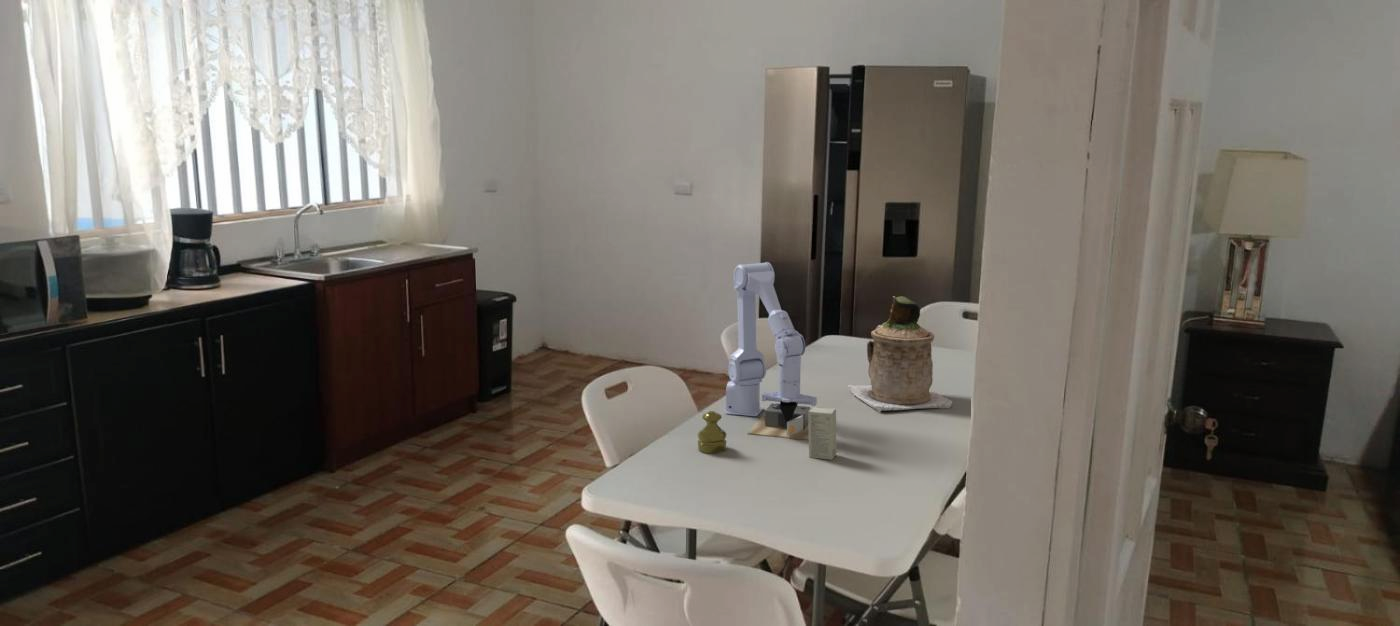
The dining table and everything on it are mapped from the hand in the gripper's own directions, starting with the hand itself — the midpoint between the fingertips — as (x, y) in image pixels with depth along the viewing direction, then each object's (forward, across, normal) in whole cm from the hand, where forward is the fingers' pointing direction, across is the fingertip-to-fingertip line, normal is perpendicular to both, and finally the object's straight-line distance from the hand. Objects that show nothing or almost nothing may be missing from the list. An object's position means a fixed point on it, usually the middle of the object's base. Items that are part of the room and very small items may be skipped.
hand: (788, 428), depth 260 cm
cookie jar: (+2, +24, +41) cm, 48 cm away
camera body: (+2, -2, +8) cm, 8 cm away
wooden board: (+2, -2, +5) cm, 6 cm away
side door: (+1, +2, 0) cm, 2 cm away
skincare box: (+2, +12, -14) cm, 18 cm away
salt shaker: (+2, -16, -17) cm, 23 cm away
